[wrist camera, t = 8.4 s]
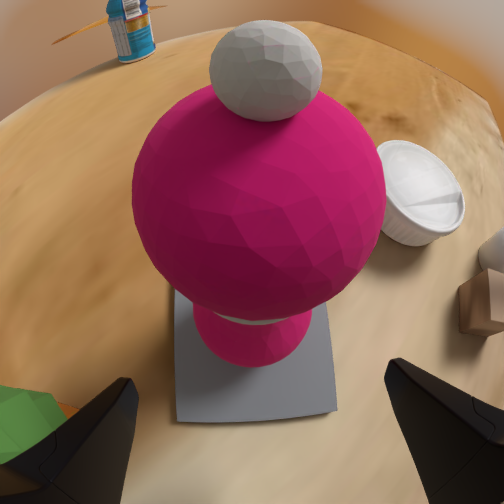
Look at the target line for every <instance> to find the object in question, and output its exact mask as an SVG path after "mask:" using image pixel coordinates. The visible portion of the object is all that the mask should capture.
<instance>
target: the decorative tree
mask: <svg viewBox="0 0 504 504" xmlns="http://www.w3.org/2000/svg"><path fill="white" fill-rule="evenodd" d="M79 410H80V409H77V408H74V407H71V406H68V405H65V404H62V403H59V402H56V401H55V399H54V398H53V396H52V394H50V393H43V392H36V391H30V390H25V389H19V388H17V389H16V388H11V387H6V386H2V385H0V464H3V463H5V462H7V461H9V460H11V459H13V458H14V457H16V456H18V455H19V454H21V453H22V452H24V451H26V450H27V449H29V448H31V447H32V446H34V445H35V444H37V443H38V442H40V441H41V440H42V439H44V438H45V437H46V436H48V435H49V434H50V433H51V432H53V431H54V430H55V431H56V428H58V427H59V426H60V425H61V424H63V423H64V422H65V421H66V420H68V419H69V418H70V417H71V416H73V415H74V414H75V413H76V412H78V411H79Z"/></svg>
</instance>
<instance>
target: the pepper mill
mask: <svg viewBox="0 0 504 504" xmlns="http://www.w3.org/2000/svg"><path fill="white" fill-rule="evenodd" d="M209 73H210V79H211V83H212V84H211V85H209V86H206V87H204V88H202V89H200V90H197V91H195V92H194V93H192V94H190V95H188V96H187V97H185V98H183V99H182V100H180V101H179V102H177V103H176V104H175V105H174V106H173V107H172V108H171V109H170V110H169V111H167V112H166V113H165V114H164V115H163V116H162V117H161V118H160V119H159V120H158V121H157V123H156V124H155V126H154V127H153V128H152V130H151V131H150V133H149V134H148V136H147V138H146V140H145V142H144V144H143V146H142V149H141V151H140V153H139V155H138V158H137V160H136V162H135V167H134V173H133V180H132V208H133V214H134V220H135V225H136V227H137V230H138V233H139V235H140V238H141V241H142V243H143V246H144V248H145V251H146V252H147V254H148V256H149V258H150V259H151V261H152V263H153V264H154V266H155V268H156V269H157V270H158V271H159V272H160V273H161V274H162V275H163V276H164V278H165V279H166V280H167V281H168V282H169V283H170V284H171V285H172V286H173V287H174V288H175V289H176V290H177V291H178V292H180V293H181V294H182V295H184V296H185V297H186V298H187V299H189V300H190V301H191V302H193V318H194V321H195V324H196V328H197V330H198V332H199V334H200V336H201V338H202V340H203V341H204V343H205V344H206V346H207V347H208V348H209V349H210V350H211V351H212V352H213V353H214V354H215V355H217V356H218V357H220V358H221V359H222V360H225V361H227V362H229V363H231V364H234V365H237V366H242V367H263V366H267V365H271V364H274V363H276V362H278V361H280V360H282V359H284V358H285V357H287V356H288V355H290V354H291V353H292V352H293V351H294V350H295V349H296V348H297V346H298V345H299V344H300V342H301V341H302V340H303V338H304V336H305V334H306V332H307V330H308V328H309V325H310V321H311V317H312V309H313V308H315V307H316V306H318V305H320V304H322V303H324V302H326V301H328V300H329V299H331V298H333V297H334V296H335V295H337V294H338V293H339V292H341V291H342V290H343V289H344V288H345V287H346V286H347V285H348V284H349V283H350V282H351V280H352V279H353V278H354V277H355V276H356V275H357V274H358V273H359V272H360V271H361V269H362V268H363V266H364V265H365V263H366V261H367V260H368V258H369V256H370V254H371V252H372V251H373V249H374V247H375V245H376V243H377V240H378V237H379V234H380V230H381V227H382V224H383V220H384V215H385V209H386V202H387V199H386V184H385V178H384V172H383V166H382V161H381V159H380V157H379V154H378V152H377V149H376V147H375V145H374V142H373V140H372V139H371V137H370V136H369V134H368V133H367V132H366V130H365V129H364V127H363V126H362V125H361V123H360V122H359V121H358V120H357V119H356V118H355V117H354V116H353V115H352V114H351V113H350V111H349V110H348V109H346V108H345V107H344V106H342V105H341V104H340V103H338V102H337V101H336V100H334V99H333V98H331V97H329V96H328V95H326V94H324V93H322V92H321V91H319V87H320V84H321V78H322V64H321V59H320V56H319V54H318V52H317V50H316V48H315V47H314V45H313V44H312V43H311V41H310V40H309V39H308V37H307V36H306V35H304V34H303V33H302V32H300V31H299V30H298V29H296V28H294V27H292V26H290V25H287V24H284V23H281V22H278V21H269V20H260V21H252V22H248V23H245V24H242V25H240V26H238V27H237V28H235V29H233V30H231V31H230V32H228V33H227V34H226V35H225V36H224V37H223V38H222V39H221V40H220V41H219V42H218V44H217V46H216V47H215V49H214V51H213V53H212V55H211V61H210V67H209Z"/></svg>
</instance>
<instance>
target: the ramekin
mask: <svg viewBox="0 0 504 504" xmlns="http://www.w3.org/2000/svg"><path fill="white" fill-rule="evenodd" d="M377 152H378V154H379V157H380V159H381V161H382V166H383V172H384V178H385V184H386V199H387V202H386V209H385V215H384V220H383V224H382V227H381V230H382V231H383V232H384V233H385V234H386V235H387V236H389V237H390V238H392V239H393V240H395V241H397V242H400V243H402V244H405V245H408V246H423V245H425V244H428V243H430V242H432V241H434V240H436V239H438V238H440V237H442V236H446V235H449V234H451V233H452V232H454V231H455V230H456V229H457V228H458V227H459V226H460V224H461V223H462V220H463V217H464V213H465V202H464V197H463V193H462V190H461V188H460V186H459V184H458V182H457V180H456V178H455V177H454V175H453V174H452V172H451V171H450V170H449V169H448V167H447V166H446V165H445V164H444V163H443V162H442V161H441V160H440V159H439V158H437V157H436V156H435V155H434V154H432V153H431V152H430V151H428V150H426V149H425V148H423V147H421V146H419V145H416V144H414V143H411V142H408V141H402V140H392V141H387V142H384V143H382V144H381V145H379V146H378V147H377Z"/></svg>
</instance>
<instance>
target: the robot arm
mask: <svg viewBox="0 0 504 504" xmlns="http://www.w3.org/2000/svg"><path fill="white" fill-rule="evenodd" d="M384 381H385V385H386V388H387V391H388V394H389V397H390V401H391V404H392V407H393V411H394V414H395V416H396V419H397V421H398V423H399V426H400V428H401V431H402V433H403V435H404V438H405V440H406V443H407V445H408V448H409V450H410V453H411V455H412V458H413V460H414V463H415V465H416V468H417V471H418V473H419V476H420V479H421V481H422V484H423V487H424V490H425V493H426V496H427V498H428V502H429V504H504V410H501V409H499V408H496V407H494V406H491V405H489V404H487V403H485V402H483V401H481V400H479V399H477V398H475V397H473V396H472V397H471V395H469V394H467V393H465V392H463V391H462V390H460V389H458V388H456V387H454V386H452V385H450V384H448V383H447V382H445V381H443V380H441V379H439V378H437V377H435V376H433V375H432V374H430V373H428V372H426V371H424V370H422V369H421V368H419V367H417V366H415V365H413V364H411V363H410V362H408V361H406V360H404V359H402V358H395V359H391V360H390V361H389V363H388V366H387V369H386V372H385V376H384ZM138 400H139V397H138V392H137V390H136V388H135V385H134V383H133V381H132V379H131V378H126V377H120V378H118V379H117V380H116V381H115V382H113V383H112V384H111V385H110V386H108V387H107V388H106V389H105V390H104V391H102V392H101V393H100V394H99V395H97V396H96V397H95V398H94V399H92V400H91V401H90V402H89V403H88V404H86V405H85V406H84V407H83V408H81V409H80V410H79V411H78V412H76V413H75V414H74V415H73V416H71V417H70V418H69V419H68V420H66V421H65V422H64V423H63V424H61V425H60V426H59V427H58V428H56V431H55V430H54V431H53V432H51V433H50V434H49V435H48V436H46V437H45V438H44V439H42V440H41V441H40V442H38V443H37V444H35V445H34V446H32V447H31V448H29V449H27V450H26V451H24V452H22V453H21V454H19V455H18V456H16V457H14V458H13V459H11V460H9V461H7V462H5V463H3V464H0V504H120V501H121V496H122V490H123V485H124V480H125V475H126V470H127V465H128V461H129V456H130V452H131V447H132V443H133V438H134V433H135V425H136V416H137V408H138Z"/></svg>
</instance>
